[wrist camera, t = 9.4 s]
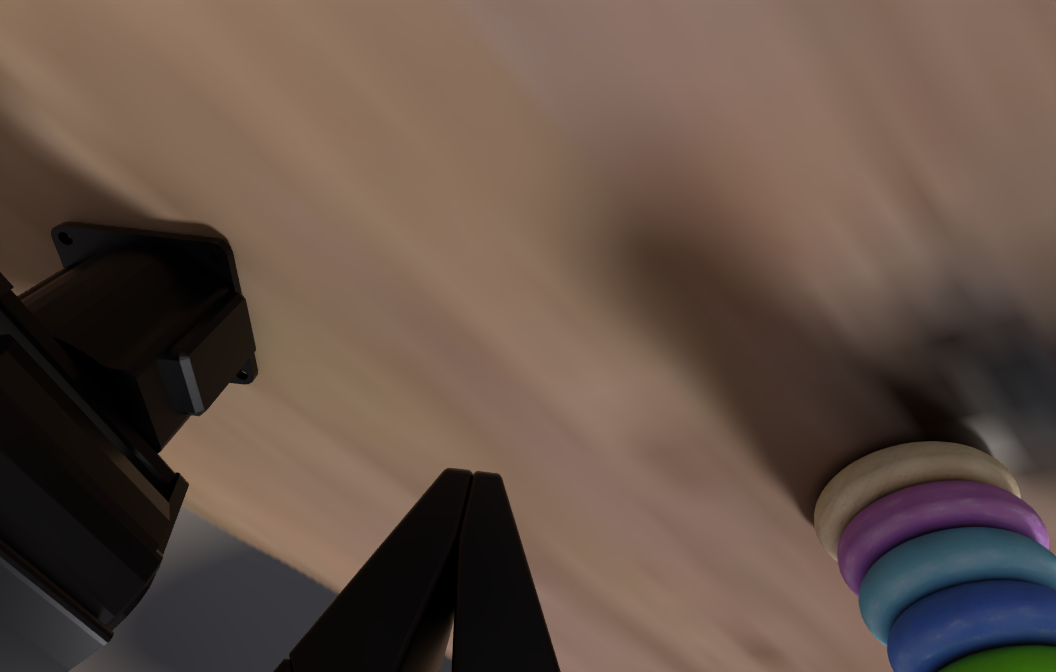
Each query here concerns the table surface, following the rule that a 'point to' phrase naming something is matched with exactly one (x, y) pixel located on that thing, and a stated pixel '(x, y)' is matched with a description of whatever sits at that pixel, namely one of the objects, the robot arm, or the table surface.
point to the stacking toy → (943, 559)
